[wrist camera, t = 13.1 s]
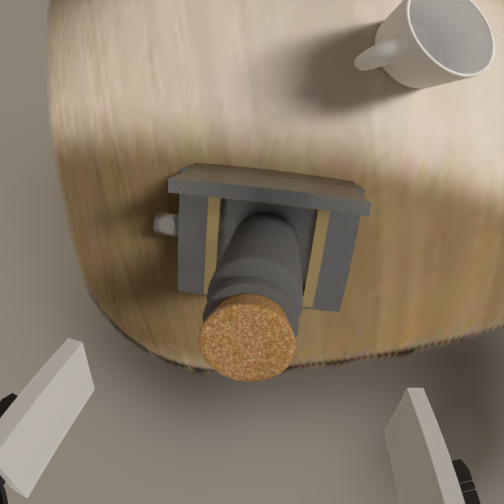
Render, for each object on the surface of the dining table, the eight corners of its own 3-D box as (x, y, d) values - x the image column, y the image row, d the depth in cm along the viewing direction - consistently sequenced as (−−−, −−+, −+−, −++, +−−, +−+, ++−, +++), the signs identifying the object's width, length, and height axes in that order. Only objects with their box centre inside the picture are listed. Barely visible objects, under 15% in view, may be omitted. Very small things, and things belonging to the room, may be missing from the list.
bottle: (292, 207, 28) (298, 284, 14) (302, 269, 30) (313, 384, 16) (225, 218, 29) (171, 301, 15) (239, 278, 30) (205, 393, 16)
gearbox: (168, 161, 32) (118, 175, 22) (353, 181, 31) (384, 204, 21) (165, 267, 36) (125, 316, 26) (332, 288, 35) (348, 348, 25)
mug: (362, 110, 29) (395, 101, 19) (326, 38, 26) (342, 0, 17) (454, 79, 26) (508, 67, 16) (421, 12, 23) (464, -21, 14)
